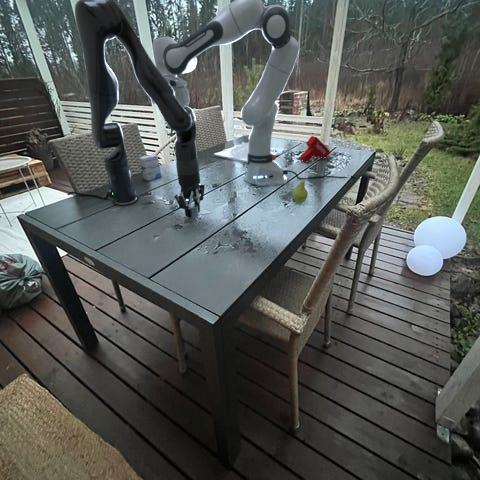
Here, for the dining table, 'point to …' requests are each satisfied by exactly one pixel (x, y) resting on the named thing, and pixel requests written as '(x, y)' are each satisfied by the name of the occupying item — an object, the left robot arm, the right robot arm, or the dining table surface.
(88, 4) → the left robot arm
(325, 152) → the toy gun
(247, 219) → the dining table surface
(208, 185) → the dining table surface
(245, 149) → the relief map
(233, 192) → the dining table surface
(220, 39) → the right robot arm
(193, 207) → the tin
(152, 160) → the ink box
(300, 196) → the fruit
